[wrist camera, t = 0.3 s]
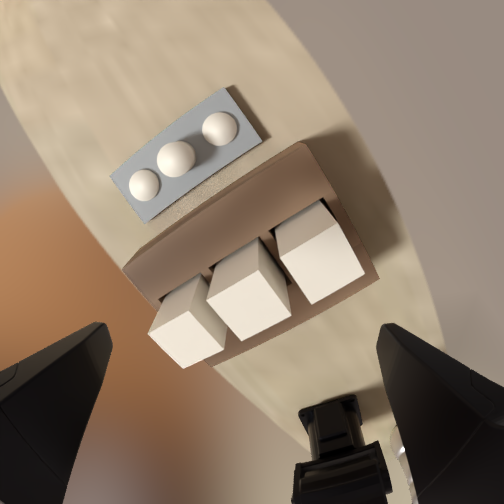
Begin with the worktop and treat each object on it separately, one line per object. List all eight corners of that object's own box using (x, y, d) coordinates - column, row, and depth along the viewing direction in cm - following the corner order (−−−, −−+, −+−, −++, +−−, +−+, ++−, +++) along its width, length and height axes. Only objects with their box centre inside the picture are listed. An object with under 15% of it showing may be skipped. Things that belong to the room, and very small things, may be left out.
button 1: (341, 239, 19) (365, 274, 15) (299, 263, 20) (311, 304, 16) (317, 198, 18) (337, 222, 14) (274, 225, 19) (279, 257, 15)
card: (262, 140, 19) (262, 142, 17) (147, 221, 21) (136, 231, 19) (224, 88, 18) (221, 83, 16) (112, 174, 20) (99, 180, 18)
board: (363, 257, 22) (379, 278, 19) (215, 339, 25) (211, 367, 22) (297, 141, 19) (306, 144, 16) (138, 249, 22) (121, 269, 19)
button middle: (284, 272, 20) (291, 315, 16) (244, 295, 21) (241, 341, 17) (257, 235, 19) (258, 270, 15) (217, 260, 20) (206, 300, 16)
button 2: (230, 303, 21) (224, 349, 17) (195, 322, 22) (182, 368, 18) (202, 269, 20) (188, 310, 16) (168, 290, 21) (147, 333, 16)
